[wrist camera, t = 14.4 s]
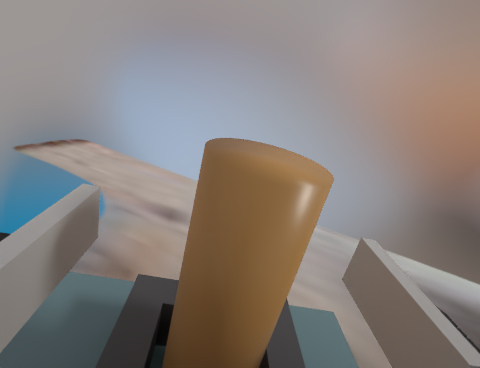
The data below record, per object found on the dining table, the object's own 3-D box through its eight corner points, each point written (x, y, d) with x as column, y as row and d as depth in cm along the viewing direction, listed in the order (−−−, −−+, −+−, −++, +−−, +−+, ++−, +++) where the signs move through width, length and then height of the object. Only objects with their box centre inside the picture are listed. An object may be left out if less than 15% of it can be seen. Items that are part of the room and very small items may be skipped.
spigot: (236, 367, 16) (311, 154, 11) (238, 463, 12) (357, 199, 7) (165, 358, 16) (210, 130, 11) (143, 456, 12) (198, 165, 7)
